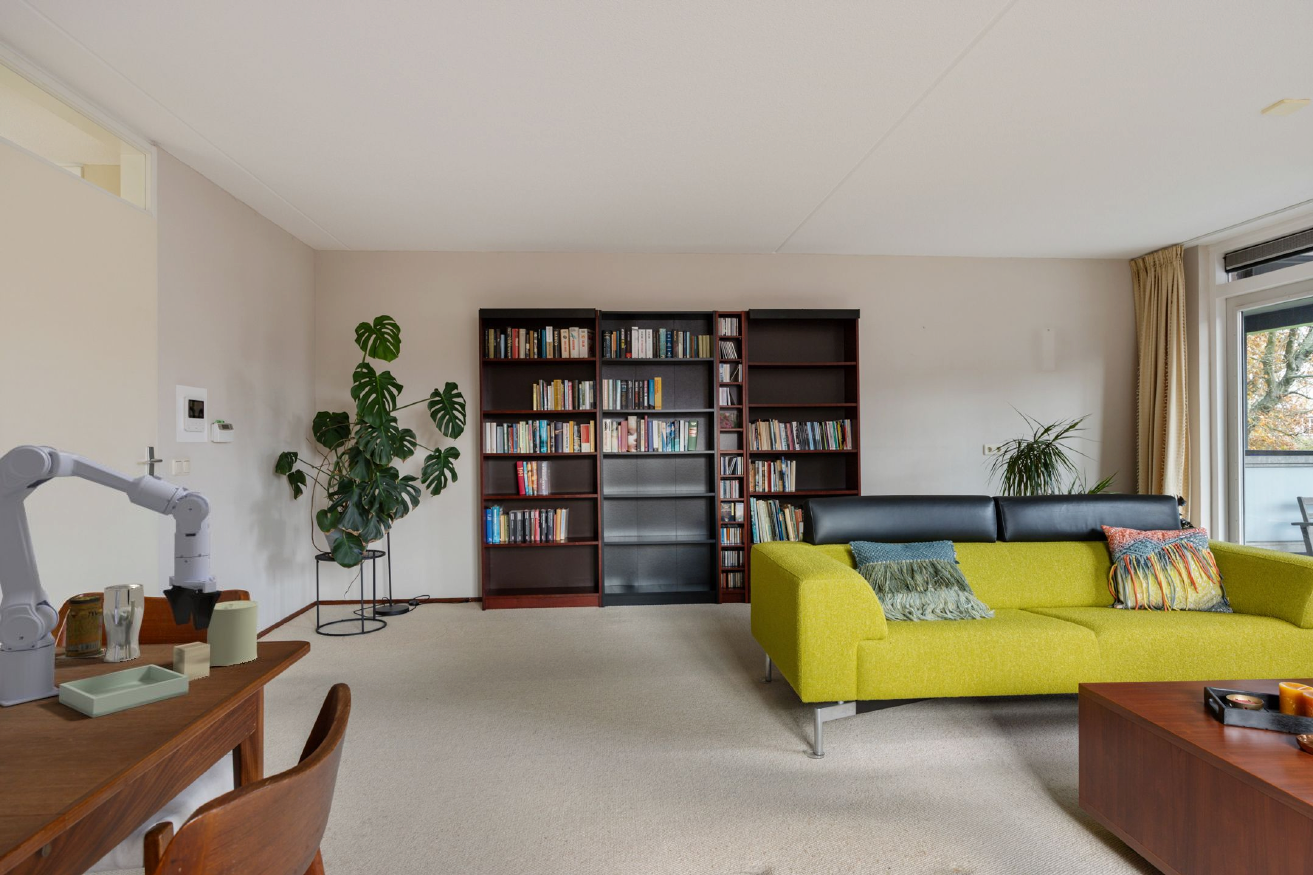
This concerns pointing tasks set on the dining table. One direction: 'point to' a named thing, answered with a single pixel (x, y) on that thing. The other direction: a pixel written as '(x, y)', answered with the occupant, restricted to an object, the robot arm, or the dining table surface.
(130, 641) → the beer glass
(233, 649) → the can
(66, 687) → the bin
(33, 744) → the dining table surface
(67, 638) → the condiment
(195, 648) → the birch block
